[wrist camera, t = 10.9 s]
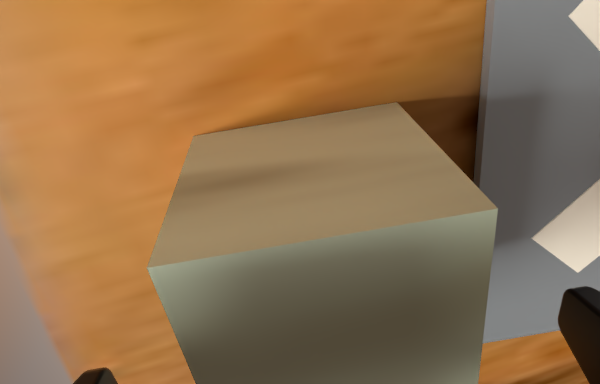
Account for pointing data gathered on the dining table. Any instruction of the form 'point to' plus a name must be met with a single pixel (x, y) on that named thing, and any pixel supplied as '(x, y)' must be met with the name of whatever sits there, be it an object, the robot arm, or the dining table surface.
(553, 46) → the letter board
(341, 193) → the sage cube
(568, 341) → the robot arm
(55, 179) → the dining table surface
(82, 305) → the dining table surface
